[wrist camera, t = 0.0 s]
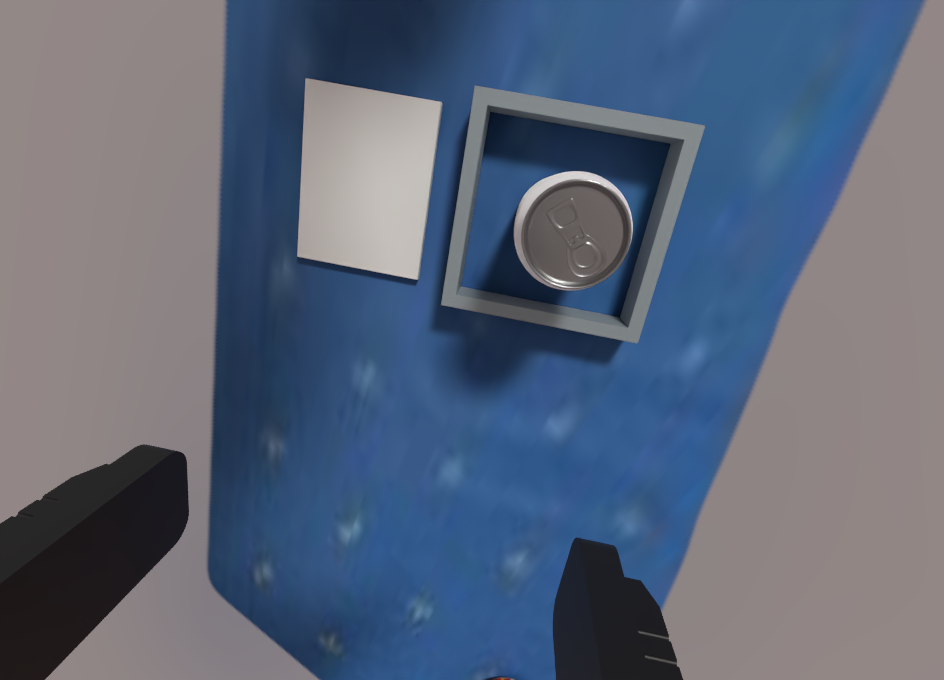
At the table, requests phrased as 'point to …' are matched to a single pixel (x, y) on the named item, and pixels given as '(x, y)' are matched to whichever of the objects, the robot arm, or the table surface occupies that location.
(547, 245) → the can
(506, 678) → the soda can
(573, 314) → the grey square frame
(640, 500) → the table surface
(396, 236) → the mat
